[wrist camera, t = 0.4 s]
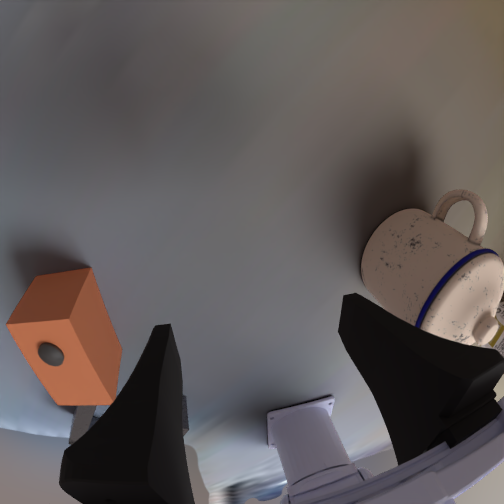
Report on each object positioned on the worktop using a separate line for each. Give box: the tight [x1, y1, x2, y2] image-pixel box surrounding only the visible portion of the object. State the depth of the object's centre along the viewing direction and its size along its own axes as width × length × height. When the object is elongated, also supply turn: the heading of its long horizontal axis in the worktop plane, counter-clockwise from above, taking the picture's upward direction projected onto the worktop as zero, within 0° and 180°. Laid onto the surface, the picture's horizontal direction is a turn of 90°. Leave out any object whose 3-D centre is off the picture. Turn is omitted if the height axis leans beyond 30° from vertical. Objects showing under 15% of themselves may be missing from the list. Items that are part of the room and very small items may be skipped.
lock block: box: [6, 268, 122, 405], centre depth 19 cm, size 8×5×6 cm, turn 3°
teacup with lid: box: [361, 189, 504, 345], centre depth 19 cm, size 12×9×12 cm
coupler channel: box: [69, 396, 189, 445], centre depth 25 cm, size 10×10×4 cm
